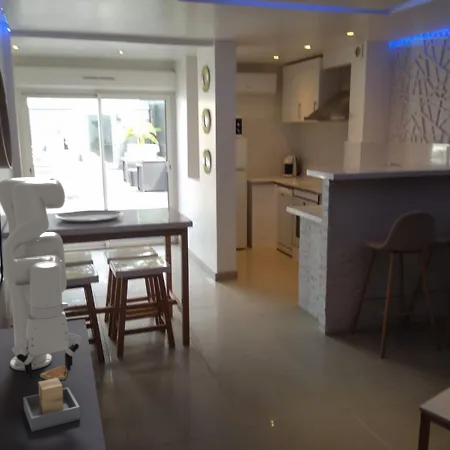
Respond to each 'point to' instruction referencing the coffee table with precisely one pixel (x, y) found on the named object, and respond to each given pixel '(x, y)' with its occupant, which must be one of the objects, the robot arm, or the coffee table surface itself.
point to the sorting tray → (55, 418)
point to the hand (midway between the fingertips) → (49, 372)
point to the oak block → (50, 396)
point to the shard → (55, 373)
